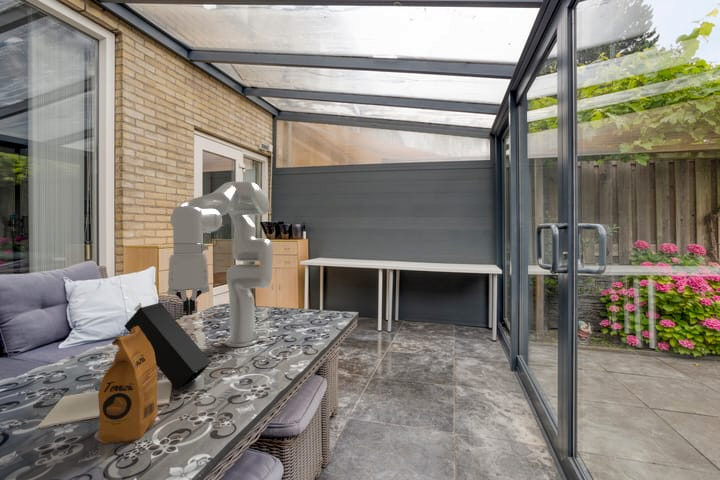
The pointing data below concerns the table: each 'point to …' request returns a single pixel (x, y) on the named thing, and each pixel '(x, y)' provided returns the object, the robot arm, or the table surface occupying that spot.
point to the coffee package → (129, 390)
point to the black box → (169, 344)
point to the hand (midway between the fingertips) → (189, 313)
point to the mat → (91, 406)
